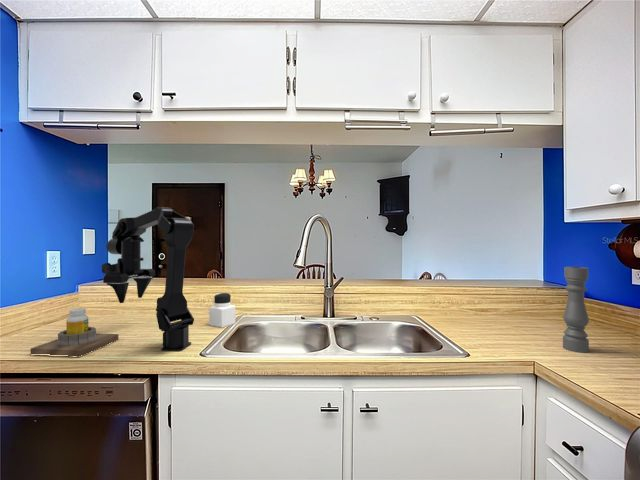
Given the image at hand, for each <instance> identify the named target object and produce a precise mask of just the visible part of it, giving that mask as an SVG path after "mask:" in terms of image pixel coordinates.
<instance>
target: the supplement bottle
mask: <svg viewBox="0 0 640 480" xmlns="http://www.w3.org/2000/svg"><path fill="white" fill-rule="evenodd" d="M86 313H87V309H86V308H83V307H82V308H81V307H80V308H73V309H69V312H68V315H69V316H68V317H67V318H66V324H65V325H66V330H67V335H72V334H80V333H85V332H88V327H89V316H88V315H86Z"/></svg>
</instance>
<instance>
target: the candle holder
mask: <svg viewBox="0 0 640 480" xmlns="http://www.w3.org/2000/svg"><path fill="white" fill-rule="evenodd" d="M563 269H564V275H563V277H564V278H565V281H566V283H567V285H566V286H565V287H564V289H566V290H567V302H566V306H565V308H564V309H565V310H564V311H563V316H562V318H563V321H564V323H565V324H566V327H567V328H566V329H565V330H564V331H563V334H564V335H562V348H563V349H565V350H567V351H569V352H574V353H580V354H581V353H583V354H587V353H589V352H590V349H589V348H590V344H589V343H590V341H589V339H588V337H589V335H588V333H587V332H586V330H585V329H586V327H587V325H588V324H589V322H590V319H589V315H588V312H587V311H588V310H587V308H586V304H585V292H587V291H588V288H587V287H586V286H585V285H586V283H587V282H588V279H589V267H584V266H564V268H563Z"/></svg>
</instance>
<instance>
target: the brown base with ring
mask: <svg viewBox="0 0 640 480" xmlns="http://www.w3.org/2000/svg"><path fill="white" fill-rule="evenodd" d="M116 340H118V341H119V334H118V333H99V332H97V328H96V327H95V326H88V332H85V333H80V334H72V335H67V329H64V330H61V331H60V332H57V339H54V340H52V341H49V342H46V343H43V344H40V345H37V346H35V347H31V348H30V355H31V354H50V355H68V356H81V355H84V354H86V353H89V352H91V351H93V352H95V351H97V350H99V349H98V348H100V347H102V348H104V347H106V346H108V345H107V344H109V343H111V342H113V343H115V342H117V341H116ZM114 341H115V342H114ZM111 344H112V343H111ZM105 345H106V346H105ZM109 345H110V344H109ZM103 346H104V347H103ZM96 349H97V350H96ZM100 349H101V348H100ZM94 350H95V351H94ZM91 353H92V352H91ZM89 354H90V353H89ZM86 355H87V354H86ZM84 356H85V355H84Z"/></svg>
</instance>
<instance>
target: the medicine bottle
mask: <svg viewBox="0 0 640 480" xmlns="http://www.w3.org/2000/svg"><path fill="white" fill-rule="evenodd" d="M213 297H214V299H213V300H214V303H213V304H214V305H212V306H209V307H208V308H209V309H208V311H209V312H208V324H209V326H212V327H215V328H217V327H218V328H220V329H221V328H225V327H229V326H232V325H235V324H236V305H233V304H231V301H232V300H231V297H232V296H231V294H230V293H227V292H219V293H215V295H214V296H213Z"/></svg>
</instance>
